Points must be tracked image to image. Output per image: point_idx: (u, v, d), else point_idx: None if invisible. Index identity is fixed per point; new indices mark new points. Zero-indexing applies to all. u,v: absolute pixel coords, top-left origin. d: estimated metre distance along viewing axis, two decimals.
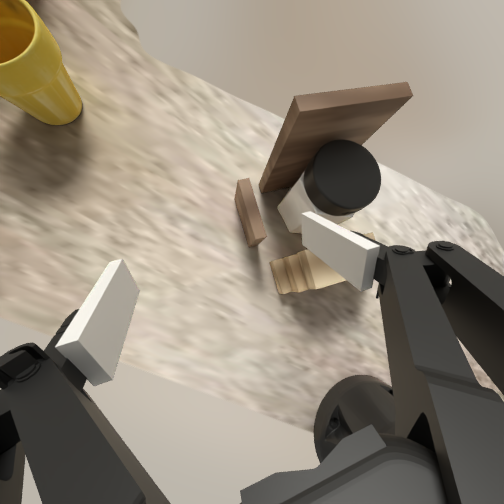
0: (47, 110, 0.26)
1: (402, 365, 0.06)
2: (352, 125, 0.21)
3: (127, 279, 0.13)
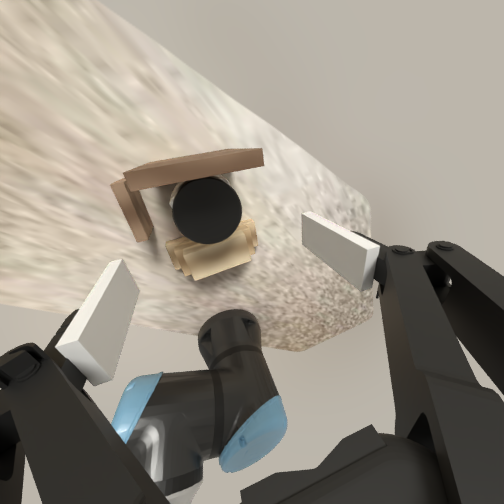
0: None
1: (402, 365, 0.06)
2: None
3: (127, 279, 0.13)
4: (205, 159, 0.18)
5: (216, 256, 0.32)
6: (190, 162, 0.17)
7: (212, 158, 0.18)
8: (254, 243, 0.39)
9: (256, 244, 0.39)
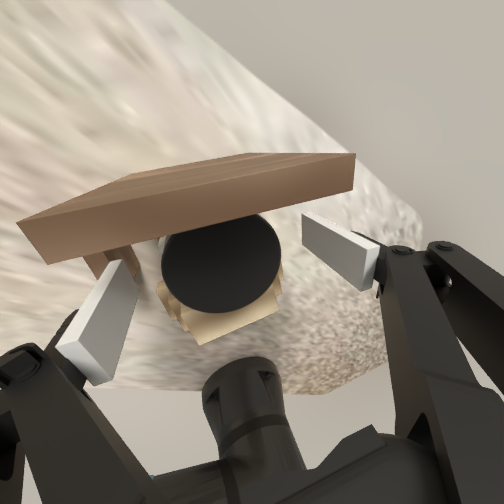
0: None
1: (402, 365, 0.06)
2: None
3: (127, 279, 0.13)
4: (233, 181, 0.07)
5: None
6: (197, 189, 0.07)
7: (249, 178, 0.07)
8: None
9: (281, 278, 0.29)
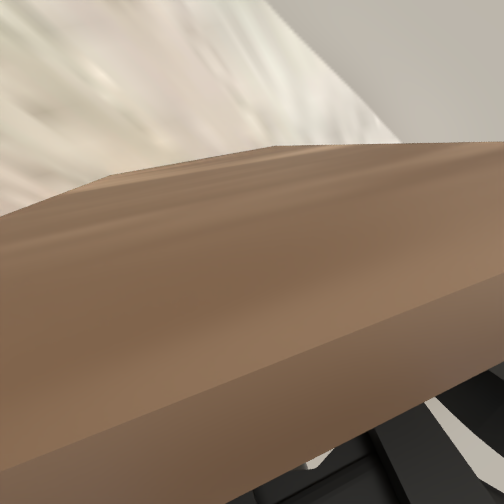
0: None
1: None
2: None
3: None
4: (493, 286, 0.01)
5: None
6: (297, 369, 0.01)
7: None
8: None
9: None
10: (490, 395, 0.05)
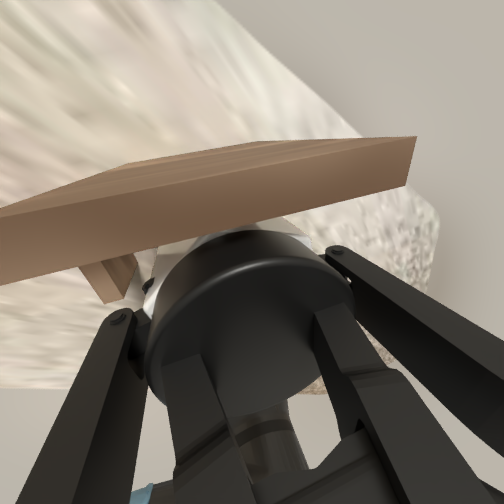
0: None
1: (329, 368, 0.06)
2: None
3: None
4: (255, 171, 0.05)
5: None
6: (206, 182, 0.05)
7: (277, 167, 0.05)
8: None
9: None
10: (490, 395, 0.05)
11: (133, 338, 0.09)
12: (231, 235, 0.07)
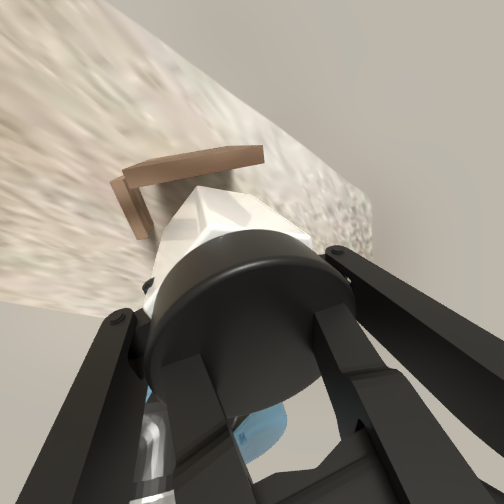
0: None
1: (329, 368, 0.06)
2: None
3: None
4: (205, 156, 0.17)
5: None
6: (190, 159, 0.17)
7: (212, 155, 0.17)
8: None
9: None
10: (490, 395, 0.05)
11: (133, 338, 0.09)
12: (232, 235, 0.07)
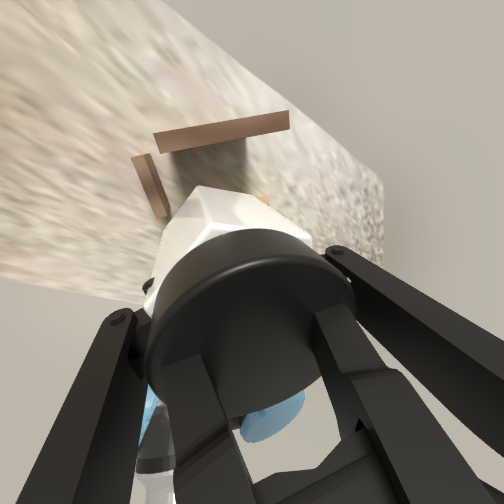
0: None
1: (329, 368, 0.06)
2: None
3: None
4: (233, 120, 0.17)
5: None
6: (218, 123, 0.17)
7: (239, 120, 0.18)
8: None
9: None
10: (490, 395, 0.05)
11: (133, 338, 0.09)
12: (232, 234, 0.07)
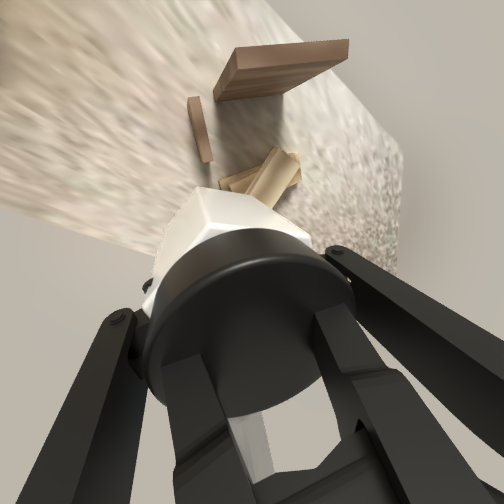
0: None
1: (329, 368, 0.06)
2: (294, 71, 0.23)
3: None
4: (302, 43, 0.19)
5: (269, 183, 0.34)
6: (289, 45, 0.19)
7: (307, 43, 0.20)
8: None
9: None
10: (490, 395, 0.05)
11: (133, 338, 0.09)
12: (230, 234, 0.07)
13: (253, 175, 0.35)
